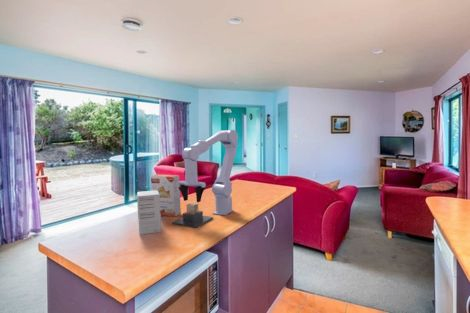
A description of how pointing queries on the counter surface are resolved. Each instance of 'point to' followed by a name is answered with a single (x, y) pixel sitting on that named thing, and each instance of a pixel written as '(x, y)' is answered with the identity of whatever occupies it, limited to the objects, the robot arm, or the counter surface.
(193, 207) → the birch post
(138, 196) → the supplement box
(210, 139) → the robot arm
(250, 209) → the counter surface
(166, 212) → the cracker box
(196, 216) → the stand
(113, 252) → the counter surface
